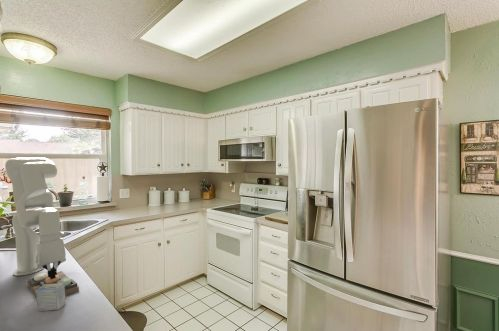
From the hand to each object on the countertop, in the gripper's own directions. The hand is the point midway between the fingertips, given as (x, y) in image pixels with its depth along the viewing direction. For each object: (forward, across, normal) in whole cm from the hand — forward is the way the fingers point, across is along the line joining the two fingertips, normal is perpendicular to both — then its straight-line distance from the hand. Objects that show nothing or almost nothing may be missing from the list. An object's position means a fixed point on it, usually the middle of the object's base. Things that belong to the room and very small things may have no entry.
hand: (52, 277), depth 115 cm
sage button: (+2, -3, +8) cm, 8 cm away
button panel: (+5, 0, 0) cm, 5 cm away
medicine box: (+5, +4, +19) cm, 20 cm away
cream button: (+2, +2, -8) cm, 9 cm away
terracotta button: (+2, 0, 0) cm, 2 cm away
